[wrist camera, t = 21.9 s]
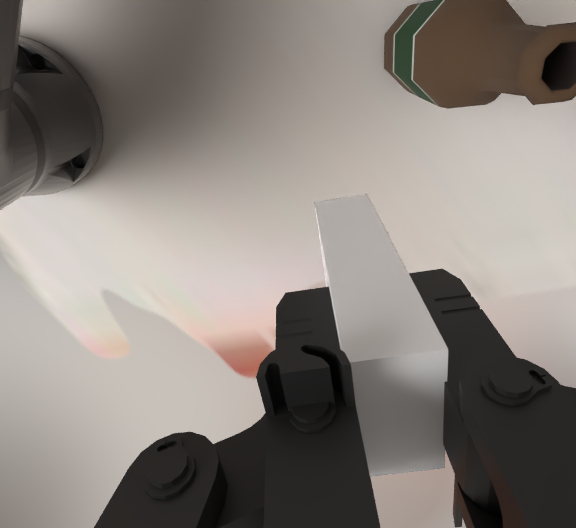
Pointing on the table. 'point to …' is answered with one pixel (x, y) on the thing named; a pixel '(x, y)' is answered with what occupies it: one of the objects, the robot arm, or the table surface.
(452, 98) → the beer bottle
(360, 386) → the robot arm
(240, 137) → the table surface
